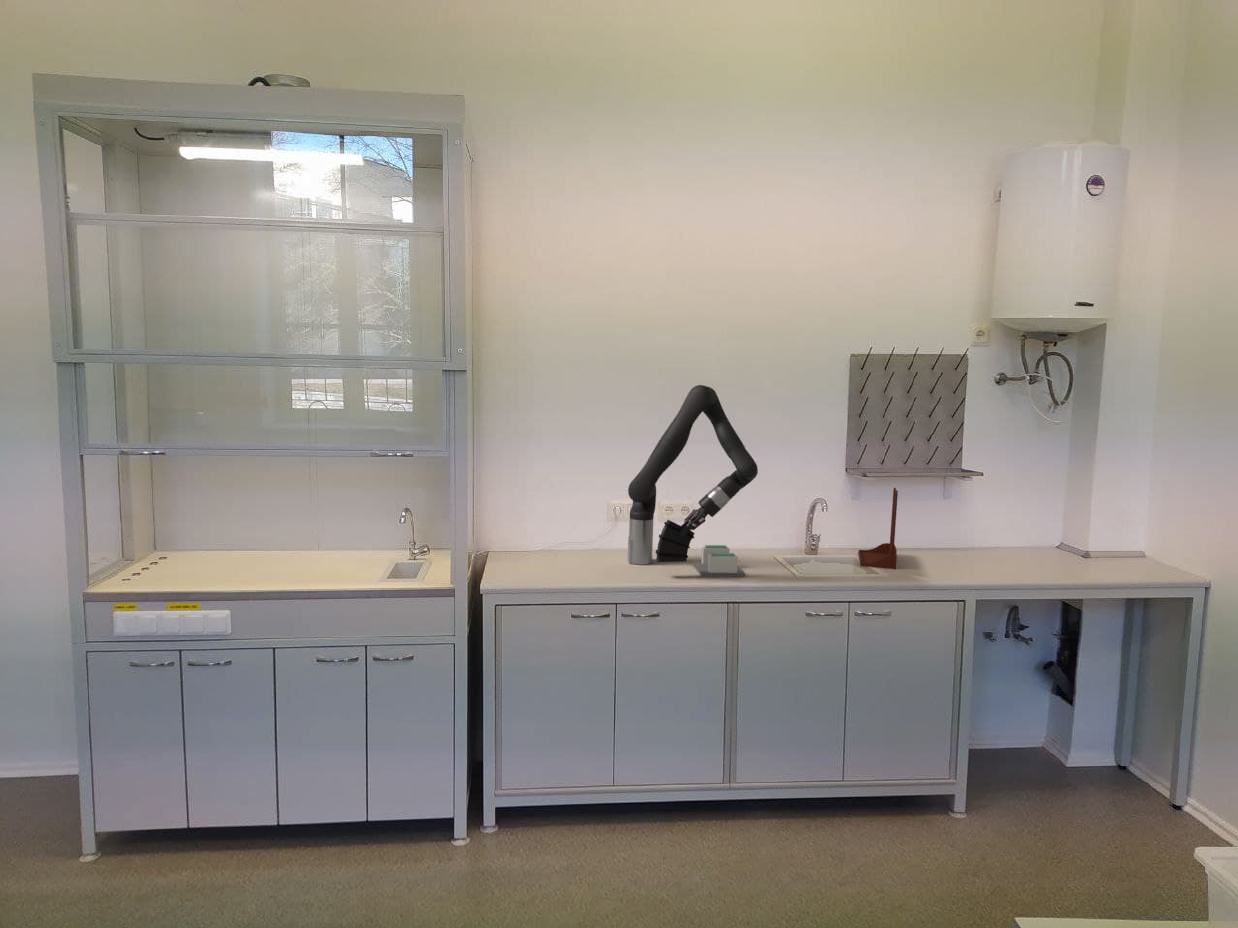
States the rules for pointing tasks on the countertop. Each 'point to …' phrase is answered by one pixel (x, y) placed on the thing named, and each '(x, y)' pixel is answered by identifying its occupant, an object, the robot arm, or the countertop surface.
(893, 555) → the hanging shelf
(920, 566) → the countertop surface
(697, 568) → the mounting plate
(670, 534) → the magazine
